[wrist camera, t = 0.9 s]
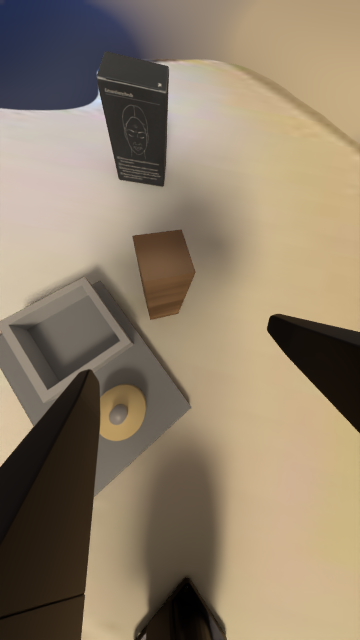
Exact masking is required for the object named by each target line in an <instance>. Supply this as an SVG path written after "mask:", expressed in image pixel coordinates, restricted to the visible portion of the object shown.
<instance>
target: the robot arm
mask: <svg viewBox="0 0 360 640" xmlns="http://www.w3.org/2000/svg"><path fill="white" fill-rule="evenodd" d="M267 331H268V333H269V334H270V335H271V337H272V338H273V339H274V340H275V342H276V343H277V344H278V346H279V347H280V348H281V349H282V351H283V352H284V353H285V354H286V355H287V357H288V358H289V359H290V360H291V361H292V362H293V363H294V364H295V365H296V366H297V367H298V368H299V369H300V370H301V371H302V373H303V374H304V375H305V376H306V377H307V378H308V379H309V380H310V381H311V382H312V383H313V384H314V385H315V386H316V387H317V388H318V389H319V391H320V392H321V393H322V394H323V395H324V396H325V397H326V398H327V399H328V400H329V401H330V402H331V403H332V404H333V405H334V406H335V407H336V409H337V410H338V411H339V412H340V413H341V414H342V415H343V416H344V417H345V418H346V419H347V420H348V421H349V422H350V423H351V424H352V426H353V427H354V428H355V429H356V430H357V431H358V432H359V433H360V332H357V331H353V330H348V329H344V328H339V327H335V326H331V325H326V324H322V323H317V322H313V321H309V320H304V319H300V318H295V317H291V316H287V315H282V314H275V315H272V316H270V318H269V322H268V326H267ZM99 433H100V384H99V381H98V379H97V377H96V376H95V374H94V373H93V371H92V370H91V369H87V370H84V371H81V372H79V373H78V374H77V375H76V377H75V378H74V379H73V380H72V381H71V383H70V384H69V385H68V386H67V387H66V389H65V390H64V391H63V392H62V393H61V395H60V396H59V397H58V398H57V399H56V401H55V402H54V403H53V404H52V405H51V407H50V408H49V409H48V410H47V411H46V413H45V414H44V415H43V416H42V417H41V419H40V420H39V421H38V422H37V423H36V425H35V426H34V427H33V428H32V429H31V431H30V432H29V433H28V434H27V435H26V437H25V438H24V439H23V440H22V441H21V443H20V444H19V445H18V446H17V447H16V449H15V450H14V451H13V452H12V454H11V455H10V456H9V457H8V458H7V460H6V461H5V462H4V463H3V464H2V466H1V467H0V640H81V633H82V622H83V611H84V600H85V595H84V593H85V587H86V576H87V565H88V554H89V543H90V532H91V521H92V510H93V499H94V488H95V477H96V466H97V455H98V444H99ZM187 586H188V588H185V587H187ZM136 640H227V638H226V636H225V634H224V633H223V631H222V629H221V628H220V626H219V625H218V623H217V621H216V620H215V618H214V617H213V615H212V613H211V612H210V610H209V609H208V607H207V605H206V604H205V602H204V601H203V599H202V597H201V596H200V594H199V593H198V591H197V589H196V588H195V586H194V585H193V583H192V581H191V580H190V579H189V578H185V579H183V581H182V582H181V583H180V584H179V586H178V587H177V588H176V589H175V591H174V592H173V593H172V594H171V596H170V597H169V598H168V599H167V601H166V602H165V603H164V605H163V606H162V607H161V608H160V610H159V611H158V612H157V613H156V615H155V616H154V617H153V618H152V620H151V621H150V622H149V623H148V625H147V626H146V627H145V628H144V630H143V631H142V632H141V633H140V635H139V636H138V637H137V638H136Z"/></svg>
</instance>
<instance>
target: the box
mask: <svg viewBox="0 0 360 640" xmlns="http://www.w3.org/2000/svg"><path fill="white" fill-rule="evenodd" d="M97 82H98V87H99V92H100V97H101V101H102V105H103V110H104V114H105V118H106V124H107V127H108V132H109V137H110V141H111V146H112V150H113V154H114V159H115V163H116V168H117V173H118V177H119V179H120V180H126V181H133V182H140V183H146V184H152V185H158V186H164V177H165V167H166V147H167V114H168V83H169V67H168V66H165V65H161V64H156V63H152V62H148V61H144V60H140V59H136V58H131V57H127V56H123V55H119V54H114V53H110V52H106V51H105V53H104V56H103V59H102V62H101V65H100V68H99V71H98V74H97Z"/></svg>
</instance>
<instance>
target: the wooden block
mask: <svg viewBox="0 0 360 640" xmlns="http://www.w3.org/2000/svg"><path fill="white" fill-rule="evenodd" d="M133 241H134V246H135V251H136V256H137V261H138V266H139V271H140V276H141V281H142V286H143V291H144V295H145V299H146V304H147V308H148V312H149V316H150V320H152V319H156V318H161V317H165V316H169V315H174V314H178V313H179V310H180V308H181V305H182V303H183V301H184V298H185V296H186V294H187V291H188V289H189V287H190V284H191V282H192V279H193V277H194V275H195V269H194V266H193V263H192V260H191V257H190V254H189V251H188V248H187V245H186V242H185V239H184V236H183V233H182V230H175V231H167V232H159V233H151V234H143V235H135V236H133Z"/></svg>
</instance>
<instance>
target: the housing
mask: <svg viewBox="0 0 360 640" xmlns="http://www.w3.org/2000/svg"><path fill="white" fill-rule="evenodd" d="M0 330H1V332H2V335H0V368H1V370H2V372H3V374H4V375H5V377H6V379H7V381H8V382H9V384H10V386H11V388H12V389H13V391H14V393H15V395H16V396H17V398H18V400H19V402H20V403H21V405H22V407H23V409H24V410H25V412H26V414H27V416H28V417H29V419H30V421H31V423H32V424H33V426H35V425H36V423H37V422H38V421H39V420H40V419H41V417H42V416H43V415H44V414H45V413H46V411H47V410H48V409H49V408H50V407H51V405H52V404H53V403H54V402H55V401H56V399H57V398H58V397H59V396H60V395H61V393H62V392H63V391H64V390H65V389H66V387H67V386H68V385H69V384H70V383H71V381H72V380H73V379H74V378H75V377H76V375H77V374H78V373H79V372H81V371H84V370H87V369H91V370H92V371H93V373H94V374H95V376H96V377H97V379H98V381H99V384H100V433H99V444H98V455H97V466H96V477H95V488H94V497H95V496H96V495H97V494H98V493H99V492H100V491H101V490H102V489H103V488H104V487H105V486H106V485H108V484H109V483H110V482H111V481H112V480H113V479H114V478H115V477H116V476H117V475H118V474H120V473H121V472H122V471H123V470H124V469H125V468H126V467H127V466H128V465H129V464H130V463H132V462H133V461H134V460H135V459H136V458H137V457H138V456H139V455H140V454H141V453H142V452H143V451H145V450H146V449H147V448H148V447H149V446H150V445H151V444H152V443H153V442H154V441H155V440H157V439H158V438H159V437H160V436H161V435H162V434H163V433H164V432H165V431H166V430H167V429H169V428H170V427H171V426H172V425H173V424H174V423H175V422H176V421H177V420H178V419H179V418H180V417H182V416H183V415H184V414H185V413H186V412H187V411H188V410H189V409H190V408H191V406H190V405H189V403H188V402H187V400H186V399H185V398H184V396H183V395H182V394H181V392H180V391H179V389H178V388H177V387H176V385H175V384H174V382H173V381H172V380H171V378H170V377H169V375H168V374H167V373H166V371H165V370H164V369H163V367H162V366H161V364H160V363H159V362H158V360H157V359H156V357H155V356H154V355H153V353H152V352H151V350H150V349H149V348H148V346H147V345H146V344H145V342H144V341H143V339H142V338H141V337H140V335H139V334H138V332H137V331H136V330H135V328H134V327H133V325H132V324H131V323H130V321H129V320H128V319H127V317H126V316H125V314H124V313H123V312H122V310H121V309H120V307H119V306H118V305H117V303H116V302H115V300H114V299H113V298H112V296H111V295H110V294H109V292H108V291H107V289H106V288H105V287H104V285H103V284H102V282H101V281H98V282H97V283H95V284H93V285H91V284H90V283H89V281H88V280H87V279H86V278H85V277H83V278H81V279H79V280H77V281H75V282H73V283H71V284H69V285H68V286H66V287H64V288H62V289H60V290H58V291H56V292H54V293H52V294H51V295H49V296H47V297H45V298H43V299H41V300H39V301H37V302H35V303H33V304H32V305H30V306H28V307H26V308H24V309H22V310H20V311H18V312H16V313H15V314H13V315H11V316H9V317H7V318H5V319H3V320H1V321H0Z"/></svg>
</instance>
